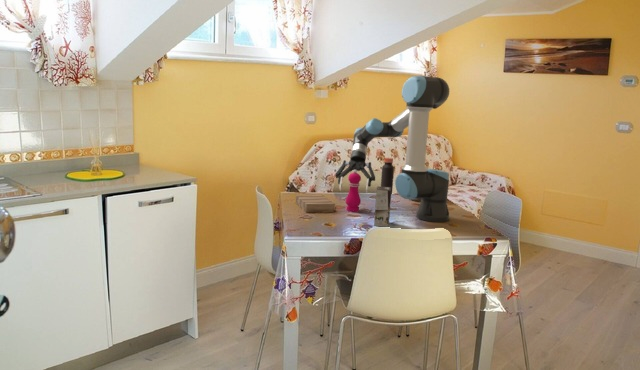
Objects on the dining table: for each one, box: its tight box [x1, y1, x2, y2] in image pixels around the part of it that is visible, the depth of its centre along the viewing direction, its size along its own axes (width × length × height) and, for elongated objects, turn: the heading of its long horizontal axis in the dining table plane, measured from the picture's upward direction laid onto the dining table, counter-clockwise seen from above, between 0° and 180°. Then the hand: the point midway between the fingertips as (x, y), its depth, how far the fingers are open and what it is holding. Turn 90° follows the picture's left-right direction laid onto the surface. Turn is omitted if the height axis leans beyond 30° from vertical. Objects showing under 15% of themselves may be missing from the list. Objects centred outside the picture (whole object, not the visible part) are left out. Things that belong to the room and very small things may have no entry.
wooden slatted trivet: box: [295, 194, 336, 213], centre depth 257 cm, size 20×14×4 cm
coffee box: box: [373, 186, 392, 228], centre depth 230 cm, size 9×6×16 cm
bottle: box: [380, 157, 395, 194], centre depth 302 cm, size 7×7×20 cm
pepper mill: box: [345, 170, 362, 213], centre depth 253 cm, size 7×7×20 cm
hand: (353, 190), depth 250 cm, fingers open, 12 cm apart
